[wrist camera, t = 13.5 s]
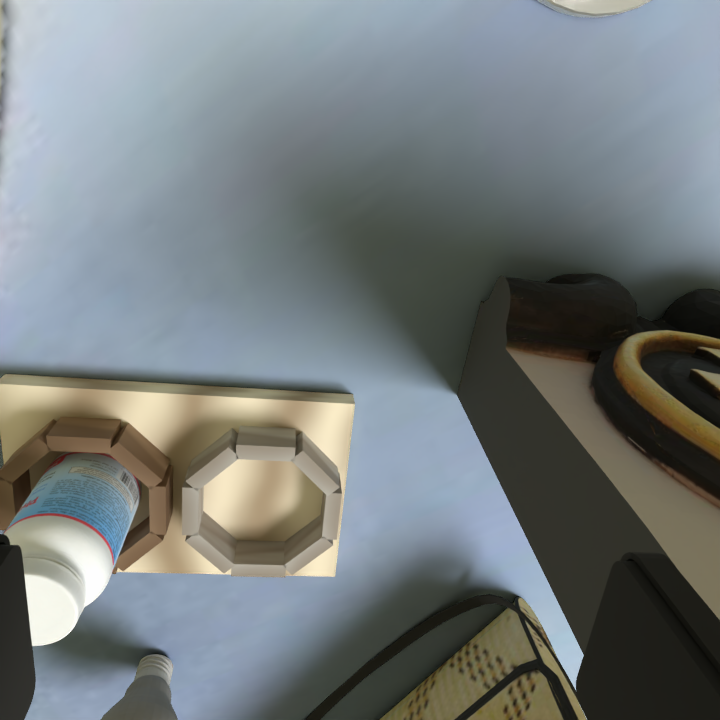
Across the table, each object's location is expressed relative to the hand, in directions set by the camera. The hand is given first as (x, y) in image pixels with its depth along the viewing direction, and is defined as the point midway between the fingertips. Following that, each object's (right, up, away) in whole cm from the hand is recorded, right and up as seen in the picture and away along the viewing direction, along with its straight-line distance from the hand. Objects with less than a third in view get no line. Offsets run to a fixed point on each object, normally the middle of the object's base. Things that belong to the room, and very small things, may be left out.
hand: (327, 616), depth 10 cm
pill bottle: (-17, -4, +31) cm, 36 cm away
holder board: (-12, -4, +33) cm, 35 cm away
